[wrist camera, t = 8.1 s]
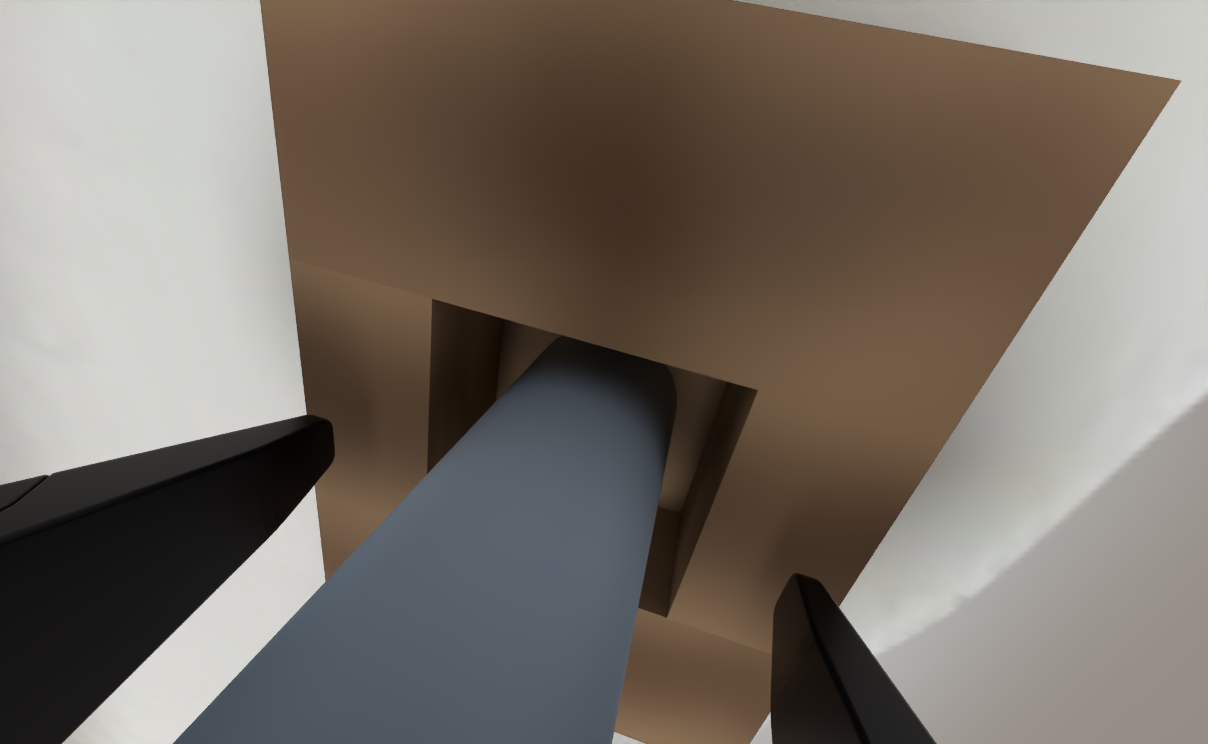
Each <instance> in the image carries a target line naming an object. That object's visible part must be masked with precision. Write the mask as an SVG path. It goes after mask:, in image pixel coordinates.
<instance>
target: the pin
mask: <svg viewBox="0 0 1208 744" xmlns="http://www.w3.org/2000/svg"><path fill="white" fill-rule="evenodd" d="M676 409H677V392H676V387H675V383H674V380H673V378H672V375H671V373H670V371H669V369H668V367H667V365H666V364H663V363H659V362H656V361H652V360H649V359H645V358H642V357H638V356H635V355H631V354H627V353H624V352H620V351H617V350H613V349H610V348H606V347H603V346H599V345H595V344H592V343H588V342H585V341H581V340H578V339H574V338H570V337H567V336H563V335H562V336H560V337H559V338H557V339H556V340H555V341H553V342H552V343H551V344H550V345H549V346H548V347H547V348H546V349H545V350H544V351H543V352H542V353H541V354H540V355H539V356H538V358H537V359H536V360H535V361H534V362H533V363H532V364H531V365H530V366H529V367H528V368H527V369H526V370H525V371H524V372H523V373H522V374H521V376H520V377H519V378H518V379H517V380H516V381H515V382H514V383H513V384H512V385H511V386H510V387H509V388H508V389H507V390H506V391H505V392H504V394H503V395H502V396H501V397H500V398H499V399H498V400H497V401H496V402H495V403H494V404H493V405H492V406H491V407H490V408H489V409H488V410H487V412H486V413H485V414H484V415H483V416H482V417H481V418H480V419H479V420H478V421H477V422H476V423H475V424H474V425H473V426H472V427H471V428H470V430H469V431H468V432H467V433H466V434H465V435H464V436H463V437H462V438H461V439H460V440H459V441H458V442H457V443H456V444H455V445H454V446H453V448H452V449H451V450H450V451H449V452H448V453H447V454H446V455H445V456H444V457H443V458H442V459H441V460H440V461H439V462H438V463H437V464H436V466H435V467H434V468H433V469H432V470H431V471H430V472H429V473H428V474H427V475H426V476H425V477H424V478H423V479H422V480H421V481H420V482H419V484H418V485H417V486H416V487H415V488H414V489H413V490H412V491H411V492H410V493H409V494H408V495H407V496H406V497H405V498H404V499H403V500H402V502H401V503H400V504H399V505H398V506H397V507H396V508H395V509H394V510H393V511H392V512H391V513H390V514H389V515H388V516H387V517H386V518H385V520H384V521H383V522H382V523H381V524H380V525H379V526H378V527H377V528H376V529H375V530H374V531H373V532H372V533H371V534H370V535H369V536H368V538H367V539H366V540H365V541H364V542H363V543H362V544H361V545H360V546H359V547H358V548H357V549H356V550H355V551H354V552H353V553H352V554H351V556H350V557H349V558H348V559H347V560H346V561H345V562H344V563H343V564H342V565H341V566H340V567H339V568H338V569H337V570H336V571H335V572H334V574H333V575H332V576H331V577H330V578H329V579H328V580H327V581H326V582H325V583H324V584H323V585H322V586H321V587H320V588H319V589H318V590H317V592H316V593H315V594H314V595H313V596H312V597H311V598H310V599H309V600H308V601H307V602H306V603H305V604H304V605H303V606H302V607H301V608H300V610H299V611H298V612H297V613H296V614H295V615H294V616H293V617H292V618H291V619H290V620H289V621H288V622H287V623H286V624H285V625H284V626H283V628H282V629H281V630H280V631H279V632H278V633H277V634H276V635H275V636H274V637H273V638H272V639H271V640H270V641H269V642H268V643H267V644H266V646H265V647H264V648H263V649H262V650H261V651H260V652H259V653H258V654H257V655H256V656H255V657H254V658H253V659H252V660H251V661H250V662H249V664H248V665H247V666H246V667H245V668H244V669H243V670H242V671H241V672H240V673H239V674H238V675H237V676H236V677H235V678H234V679H233V680H232V682H231V683H230V684H229V685H228V686H227V687H226V688H225V689H224V690H223V691H222V692H221V693H220V694H219V695H218V696H217V697H216V698H215V700H214V701H213V702H212V703H211V704H210V705H209V706H208V707H207V708H206V709H205V710H204V711H203V712H202V713H201V714H200V715H199V716H198V718H197V719H196V720H195V721H194V722H193V723H192V724H191V725H190V726H189V727H188V728H187V729H186V730H185V731H184V732H183V733H182V734H181V736H180V737H179V738H178V739H177V740H176V741H175V742H174V743H173V744H612V739H613V734H614V728H615V723H616V718H617V713H618V708H619V703H620V698H621V692H622V687H623V682H624V677H625V672H626V667H627V662H628V656H629V651H630V646H631V641H632V636H633V631H634V626H635V620H636V615H637V610H638V605H639V600H640V595H641V590H642V584H643V579H644V574H645V569H646V564H647V559H648V554H649V549H650V543H651V538H652V533H653V528H654V523H655V518H656V513H657V507H658V502H659V497H660V492H661V487H662V482H663V477H664V471H665V466H666V461H667V456H668V451H669V446H670V441H671V435H672V430H673V425H674V420H675V415H676Z"/></svg>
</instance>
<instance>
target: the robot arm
mask: <svg viewBox="0 0 1208 744" xmlns="http://www.w3.org/2000/svg"><path fill="white" fill-rule="evenodd" d="M334 458H335V443H334V431H333V425H332V423H331V421H329V420H328V419H325V418H322V417H319V416H315V415H304V416H300V417H295V418H291V419H287V420H282V421H278V422H274V423H269V424H265V425H261V426H256V427H252V428H248V429H243V430H239V431H234V432H230V433H226V434H221V435H217V436H213V437H208V438H204V439H200V440H195V441H191V442H187V443H182V444H178V445H174V446H169V447H165V448H160V449H156V450H152V451H147V452H143V453H139V454H134V455H130V456H126V457H121V458H117V459H113V460H108V461H104V462H100V463H95V464H91V465H86V466H82V467H78V468H73V469H69V470H65V471H60V472H56V473H53V474H51V475H50V476H48V475H42V476H38V477H34V478H29V479H25V480H21V481H17V482H12V483H8V484H3V485H0V744H62V743H63V742H64V741H65V740H66V739H67V738H68V737H69V736H70V735H71V734H72V733H73V732H74V731H75V730H76V729H77V728H78V727H79V726H80V725H81V724H82V723H83V722H84V721H85V720H86V719H87V718H88V717H89V716H90V715H91V714H92V713H93V712H94V711H95V710H96V709H97V708H98V707H99V706H100V705H101V704H102V703H103V702H104V701H105V700H106V699H107V698H108V697H109V696H110V695H111V694H112V693H113V692H114V691H115V690H116V689H117V688H118V687H119V686H120V685H121V684H122V683H123V682H124V681H125V680H126V679H127V678H128V677H129V676H130V675H131V674H132V673H133V672H134V671H135V670H136V669H137V668H138V667H139V666H140V665H141V664H142V663H143V662H144V661H145V660H146V659H147V658H148V657H149V656H150V655H151V654H152V653H153V652H154V651H155V650H156V649H157V648H158V647H159V646H160V645H161V644H163V643H164V642H165V641H166V640H167V639H168V638H169V637H170V636H171V635H172V634H173V633H174V632H175V631H176V630H177V629H178V628H179V627H180V626H181V625H182V624H183V623H184V622H185V621H186V620H187V619H188V618H189V617H190V616H191V615H192V614H193V613H194V612H195V611H196V610H197V609H198V608H199V607H200V606H201V605H202V604H203V603H204V602H205V601H206V600H207V599H208V598H209V597H210V596H211V595H212V594H213V593H214V592H215V591H216V590H217V589H218V588H219V587H220V586H221V585H222V584H223V583H224V582H225V581H226V580H227V579H228V578H229V577H230V576H231V575H232V574H233V573H234V572H235V571H236V570H237V569H238V568H239V567H240V566H241V565H242V564H243V563H244V562H245V561H246V560H247V559H248V558H249V557H250V556H251V555H252V554H253V553H254V552H255V551H256V550H257V549H258V548H259V547H260V546H261V545H262V544H263V543H264V542H265V541H266V540H267V539H268V538H269V537H270V536H271V535H272V534H273V533H274V532H275V531H276V530H277V529H278V527H279V526H280V525H281V524H282V523H283V522H284V521H285V520H286V518H287V517H288V516H289V515H290V514H291V512H292V511H293V510H294V509H295V508H296V507H297V505H298V504H299V503H300V502H301V501H302V499H303V498H304V497H305V496H306V495H307V493H308V492H309V491H310V490H311V489H312V487H313V486H314V485H315V484H316V483H317V481H318V480H319V479H320V478H321V477H322V475H323V474H324V473H325V472H326V471H327V469H328V468H329V467H330V466H331V464H332V462H333V460H334ZM770 711H771V729H772V742H773V744H936V742H935V741H934V739H933V738H932V737H931V735H930V734H929V732H928V731H927V729H926V728H925V727H924V725H923V724H922V723H921V721H920V720H919V718H918V717H917V716H916V714H915V713H914V711H913V710H912V709H911V707H910V706H909V704H908V703H907V702H906V700H905V699H904V697H903V696H902V695H901V693H900V692H899V690H898V689H897V688H896V686H895V685H894V684H893V682H892V681H891V679H890V678H889V677H888V675H887V674H886V672H885V671H884V670H883V668H882V667H881V665H880V664H879V662H878V661H877V660H876V658H875V657H874V655H873V654H872V653H871V651H870V650H869V648H868V647H867V646H866V644H865V643H864V642H863V640H862V639H861V637H860V636H859V635H858V633H857V632H856V630H855V629H854V628H853V626H852V625H851V623H850V622H849V621H848V619H847V618H846V616H845V615H844V614H843V612H842V611H841V609H840V608H839V607H838V605H837V604H836V602H835V601H834V600H833V598H832V597H831V595H830V594H829V593H828V591H827V590H826V588H825V587H824V586H823V584H822V583H821V582H820V581H819V580H817V579H815V578H812V577H809V576H806V575H803V574H800V573H794V574H793V575H792V576H791V577H790V578H789V580H788V582H787V584H786V586H785V587H784V589H783V591H782V593H781V595H780V596H779V598H778V600H777V602H776V604H775V608H774V613H773V634H772V665H771V699H770Z"/></svg>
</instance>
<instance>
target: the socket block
mask: <svg viewBox="0 0 1208 744" xmlns="http://www.w3.org/2000/svg"><path fill="white" fill-rule="evenodd" d="M260 4H261V13H262V22H263V31H264V39H265V48H266V57H267V66H268V75H269V84H270V93H271V101H272V110H273V119H274V128H275V137H276V146H277V155H278V163H279V172H280V181H281V190H282V199H283V208H284V217H285V225H286V234H287V243H288V252H289V261H290V270H291V279H292V287H293V296H294V305H295V314H296V323H297V332H298V341H299V349H300V358H301V367H302V376H303V385H304V394H305V403H306V411H307V415H315V416H319V417H322V418H325V419H328V420H329V421H331V423H332V425H333V431H334V443H335V458H334V460H333V462H332V464H331V466H330V467H329V468H328V469H327V471H326V472H325V473H324V474H323V475H322V477H321V478H320V479H319V480H318V481H317V483H316V484H315V491H316V500H317V509H318V518H319V527H320V535H321V544H322V553H323V562H324V571H325V580H326V581H327V580H328V579H329V578H330V577H331V576H332V575H333V574H334V572H335V571H336V570H337V569H338V568H339V567H340V566H341V565H342V564H343V563H344V562H345V561H346V560H347V559H348V558H349V557H350V556H351V554H352V553H353V552H354V551H355V550H356V549H357V548H358V547H359V546H360V545H361V544H362V543H363V542H364V541H365V540H366V539H367V538H368V536H369V535H370V534H371V533H372V532H373V531H374V530H375V529H376V528H377V527H378V526H379V525H380V524H381V523H382V522H383V521H384V520H385V518H386V517H387V516H388V515H389V514H390V513H391V512H392V511H393V510H394V509H395V508H396V507H397V506H398V505H399V504H400V503H401V502H402V500H403V499H404V498H405V497H406V496H407V495H408V494H409V493H410V492H411V491H412V490H413V489H414V488H415V487H416V486H417V485H418V484H419V482H420V481H421V480H422V479H423V478H424V477H425V476H426V475H427V474H428V473H429V472H430V471H431V470H432V469H433V468H434V467H435V466H436V464H437V463H438V462H439V461H440V460H441V459H442V458H443V457H444V456H445V455H446V454H447V453H448V452H449V451H450V450H451V449H452V448H453V446H454V445H455V444H456V443H457V442H458V441H459V440H460V439H461V438H462V437H463V436H464V435H465V434H466V433H467V432H468V431H469V430H470V428H471V427H472V426H473V425H474V424H475V423H476V422H477V421H478V420H479V419H480V418H481V417H482V416H483V415H484V414H485V413H486V412H487V410H488V409H489V408H490V407H491V406H492V405H493V404H494V403H495V402H496V401H497V400H498V399H499V398H500V397H501V396H502V395H503V394H504V392H505V391H506V390H507V389H508V388H509V387H510V386H511V385H512V384H513V383H514V382H515V381H516V380H517V379H518V378H519V377H520V376H521V374H522V373H523V372H524V371H525V370H526V369H527V368H528V367H529V366H530V365H531V364H532V363H533V362H534V361H535V360H536V359H537V358H538V356H539V355H540V354H541V353H542V352H543V351H544V350H545V349H546V348H547V347H548V346H549V345H550V344H551V343H552V342H553V341H555V340H556V339H557V338H559V337H560V336H562V335H563V336H567V337H570V338H574V339H578V340H581V341H585V342H588V343H592V344H595V345H599V346H603V347H606V348H610V349H613V350H617V351H620V352H624V353H627V354H631V355H635V356H638V357H642V358H645V359H649V360H652V361H656V362H659V363H663V364H666V365H667V367H668V369H669V371H670V373H671V375H672V378H673V380H674V383H675V387H676V392H677V409H676V415H675V420H674V425H673V430H672V435H671V441H670V446H669V451H668V456H667V461H666V466H665V471H664V477H663V482H662V487H661V492H660V497H659V502H658V507H657V513H656V518H655V523H654V528H653V533H652V538H651V543H650V549H649V554H648V559H647V564H646V569H645V574H644V579H643V584H642V590H641V595H640V600H639V605H638V610H637V615H636V620H635V626H634V631H633V636H632V641H631V646H630V651H629V656H628V662H627V667H626V672H625V677H624V682H623V687H622V692H621V698H620V703H619V708H618V713H617V718H616V723H615V728H614V732H617V733H619V734H622V735H625V736H627V737H630V738H632V739H635V740H638V741H640V742H643V743H645V744H750V742H751V741H752V739H753V738H754V736H755V735H756V733H757V732H758V730H759V728H760V727H761V725H762V724H763V722H764V721H765V719H766V718H767V716H768V715H769V713H770V712H771V711H770V699H771V665H772V634H773V613H774V608H775V604H776V602H777V600H778V598H779V596H780V595H781V593H782V591H783V589H784V587H785V586H786V584H787V582H788V580H789V578H790V577H791V576H792V575H793V574H794V573H800V574H803V575H806V576H809V577H812V578H815V579H817V580H819V581H820V582H821V583H822V584H823V586H824V587H825V588H826V590H827V591H828V593H829V594H830V595H831V597H832V598H833V600H834V601H835V602H836V604H837V605H838V607H839V606H840V604H841V603H842V601H843V600H844V598H845V596H846V595H847V593H848V592H849V590H850V589H851V587H852V586H853V584H854V583H855V581H856V580H857V578H858V576H859V575H860V573H861V572H862V570H863V569H864V567H865V566H866V564H867V563H868V561H869V560H870V558H871V557H872V555H873V553H874V552H875V550H876V549H877V547H878V546H879V544H880V543H881V541H882V540H883V538H884V537H885V535H886V533H887V532H888V530H889V529H890V527H891V526H892V524H893V523H894V521H895V520H896V518H897V517H898V515H899V514H900V512H901V510H902V509H903V507H904V506H905V504H906V503H907V501H908V500H909V498H910V497H911V495H912V494H913V492H914V490H915V489H916V487H917V486H918V484H919V483H920V481H921V480H922V478H923V477H924V475H925V474H926V472H927V471H928V469H929V467H930V466H931V464H932V463H933V461H934V460H935V458H936V457H937V455H938V454H939V452H940V451H941V449H942V448H943V446H944V444H945V443H946V441H947V440H948V438H949V437H950V435H951V434H952V432H953V431H954V429H955V428H956V426H957V424H958V423H959V421H960V420H961V418H962V417H963V415H964V414H965V412H966V411H967V409H968V408H969V406H970V405H971V403H972V401H973V400H974V398H975V397H976V395H977V394H978V392H979V391H980V389H981V388H982V386H983V385H984V383H985V381H986V380H987V378H988V377H989V375H990V374H991V372H992V371H993V369H994V368H995V366H996V365H997V363H998V362H999V360H1000V358H1001V357H1002V355H1003V354H1004V352H1005V351H1006V349H1007V348H1008V346H1009V345H1010V343H1011V342H1012V340H1013V339H1014V337H1015V335H1016V334H1017V332H1018V331H1019V329H1020V328H1021V326H1022V325H1023V323H1024V322H1025V320H1026V319H1027V317H1028V315H1029V314H1030V312H1031V311H1032V309H1033V308H1034V306H1035V305H1036V303H1037V302H1038V300H1039V299H1040V297H1041V296H1042V294H1043V292H1044V291H1045V289H1046V288H1047V286H1048V285H1049V283H1050V282H1051V280H1052V279H1053V277H1054V276H1055V274H1056V272H1057V271H1058V269H1059V268H1060V266H1061V265H1062V263H1063V262H1064V260H1065V259H1066V257H1067V256H1068V254H1069V253H1070V251H1071V249H1072V248H1073V246H1074V245H1075V243H1076V242H1077V240H1078V239H1079V237H1080V236H1081V234H1082V233H1083V231H1084V229H1085V228H1086V226H1087V225H1088V223H1089V222H1090V220H1091V219H1092V217H1093V216H1094V214H1095V213H1096V211H1097V210H1098V208H1099V206H1100V205H1101V203H1102V202H1103V200H1104V199H1105V197H1106V196H1107V194H1108V193H1109V191H1110V190H1111V188H1112V187H1113V185H1114V183H1115V182H1116V180H1117V179H1118V177H1119V176H1120V174H1121V173H1122V171H1123V170H1124V168H1125V167H1126V165H1127V163H1128V162H1129V160H1130V159H1131V157H1132V156H1133V154H1134V153H1135V151H1136V150H1137V148H1138V147H1139V145H1140V144H1141V142H1142V140H1143V139H1144V137H1145V136H1146V134H1147V133H1148V131H1149V130H1150V128H1151V127H1152V125H1153V124H1154V122H1155V120H1156V119H1157V117H1158V116H1159V114H1160V113H1161V111H1162V110H1163V108H1164V107H1165V105H1166V104H1167V102H1168V101H1169V99H1170V97H1171V96H1172V94H1173V93H1174V91H1175V90H1176V88H1177V87H1178V85H1179V84H1180V82H1181V81H1180V80H1174V79H1169V78H1163V77H1158V76H1152V75H1146V74H1141V73H1135V72H1130V71H1124V70H1119V69H1113V68H1107V67H1102V66H1096V65H1091V64H1085V63H1079V62H1074V61H1068V60H1063V59H1057V58H1052V57H1046V56H1040V55H1035V54H1029V53H1024V52H1018V51H1012V50H1007V49H1001V48H996V47H990V46H985V45H979V44H973V43H968V42H962V41H957V40H951V39H945V38H940V37H934V36H929V35H923V34H918V33H912V32H906V31H901V30H895V29H890V28H884V27H878V26H873V25H867V24H862V23H856V22H851V21H845V20H839V19H834V18H828V17H823V16H817V15H811V14H806V13H800V12H795V11H789V10H784V9H778V8H772V7H767V6H761V5H756V4H750V3H744V2H739V1H733V0H260Z"/></svg>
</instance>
